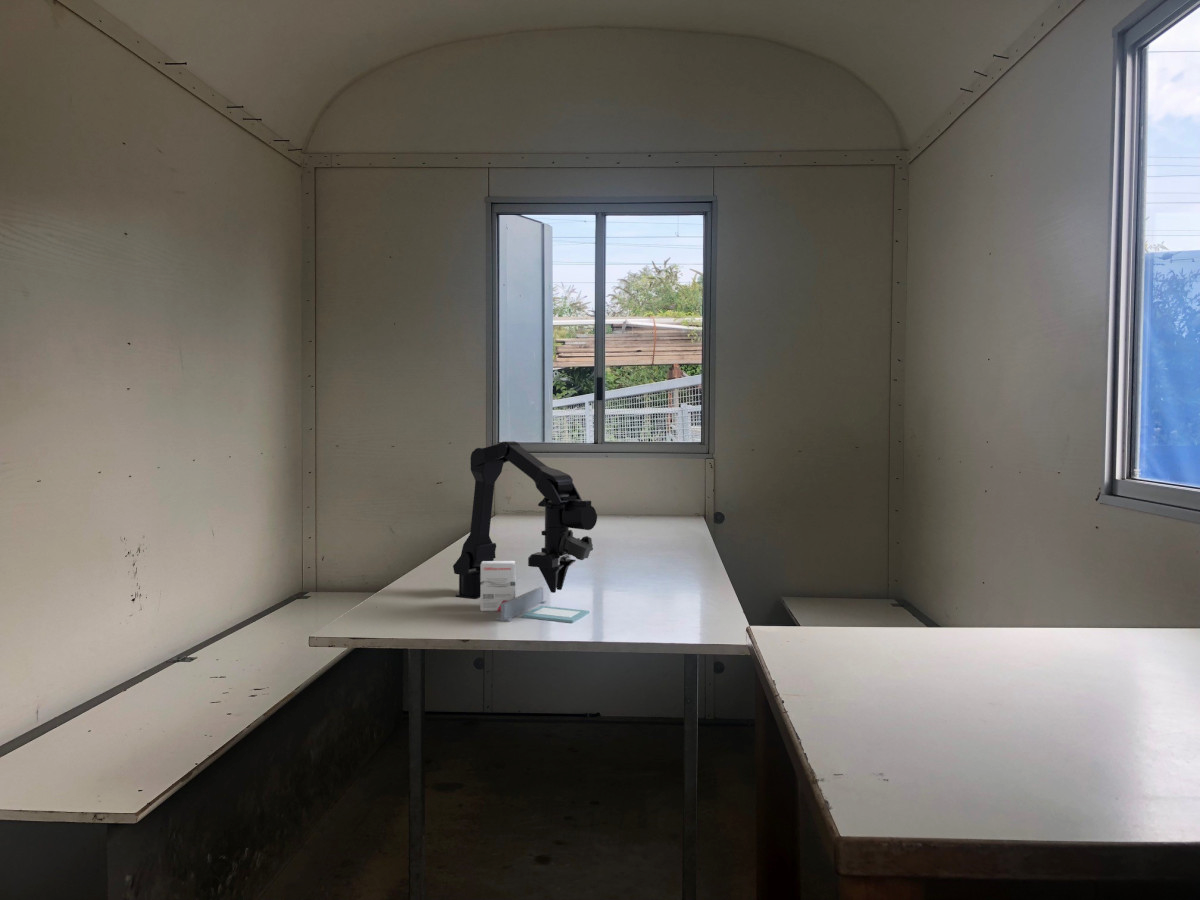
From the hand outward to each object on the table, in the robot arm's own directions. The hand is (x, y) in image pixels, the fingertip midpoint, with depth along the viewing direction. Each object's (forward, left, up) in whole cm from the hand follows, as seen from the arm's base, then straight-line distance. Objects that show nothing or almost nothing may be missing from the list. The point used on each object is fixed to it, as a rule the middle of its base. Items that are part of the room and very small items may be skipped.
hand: (556, 591), depth 179 cm
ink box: (-16, 0, -6) cm, 17 cm away
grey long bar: (-9, 0, -6) cm, 11 cm away
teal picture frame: (0, 0, -6) cm, 6 cm away
